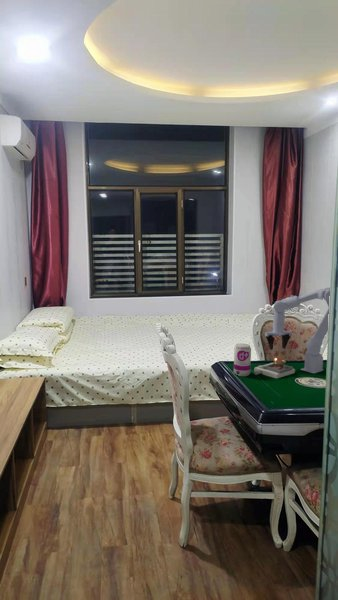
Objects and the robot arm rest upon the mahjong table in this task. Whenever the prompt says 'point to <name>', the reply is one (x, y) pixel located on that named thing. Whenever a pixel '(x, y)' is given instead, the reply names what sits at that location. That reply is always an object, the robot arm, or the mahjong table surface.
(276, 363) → the spout can
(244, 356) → the supplement can
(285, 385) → the mahjong table surface
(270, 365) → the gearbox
